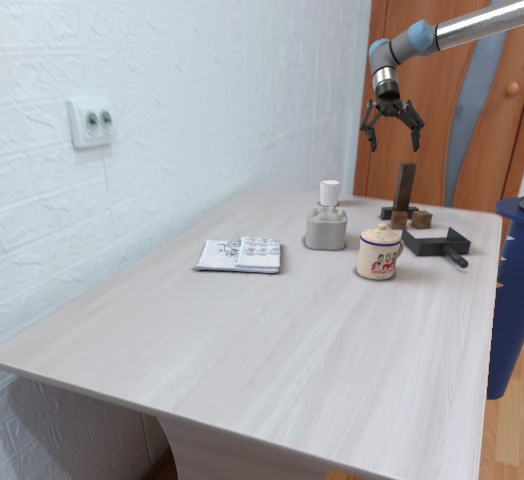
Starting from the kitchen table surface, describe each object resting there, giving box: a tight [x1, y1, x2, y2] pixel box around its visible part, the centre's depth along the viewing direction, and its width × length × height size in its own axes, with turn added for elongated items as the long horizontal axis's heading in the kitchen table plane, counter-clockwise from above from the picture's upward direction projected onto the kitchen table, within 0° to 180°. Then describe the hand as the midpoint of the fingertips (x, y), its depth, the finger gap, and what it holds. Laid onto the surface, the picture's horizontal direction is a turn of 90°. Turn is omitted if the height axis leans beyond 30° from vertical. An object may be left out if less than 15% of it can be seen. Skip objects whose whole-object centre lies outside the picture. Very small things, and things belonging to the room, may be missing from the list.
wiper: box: [379, 161, 420, 221], centre depth 143 cm, size 11×3×16 cm, turn 98°
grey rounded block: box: [304, 205, 348, 251], centre depth 128 cm, size 10×13×9 cm
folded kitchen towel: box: [193, 235, 281, 274], centre depth 119 cm, size 19×20×2 cm
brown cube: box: [389, 211, 409, 230], centre depth 139 cm, size 4×4×4 cm
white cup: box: [319, 179, 342, 207], centre depth 156 cm, size 7×7×7 cm
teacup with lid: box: [356, 222, 405, 281], centre depth 110 cm, size 12×9×12 cm
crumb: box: [410, 209, 434, 230], centre depth 140 cm, size 4×4×4 cm
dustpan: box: [400, 226, 472, 269], centre depth 122 cm, size 22×14×3 cm, turn 8°
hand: (395, 149), depth 146 cm, fingers open, 13 cm apart
